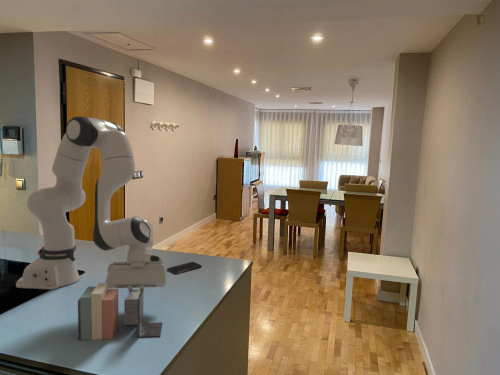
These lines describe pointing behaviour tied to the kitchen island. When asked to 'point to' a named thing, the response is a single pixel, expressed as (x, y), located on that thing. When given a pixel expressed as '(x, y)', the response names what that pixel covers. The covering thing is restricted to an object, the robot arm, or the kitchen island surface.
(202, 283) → the kitchen island surface
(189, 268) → the phone
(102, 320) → the books
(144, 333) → the bookends
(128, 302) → the medicine box
